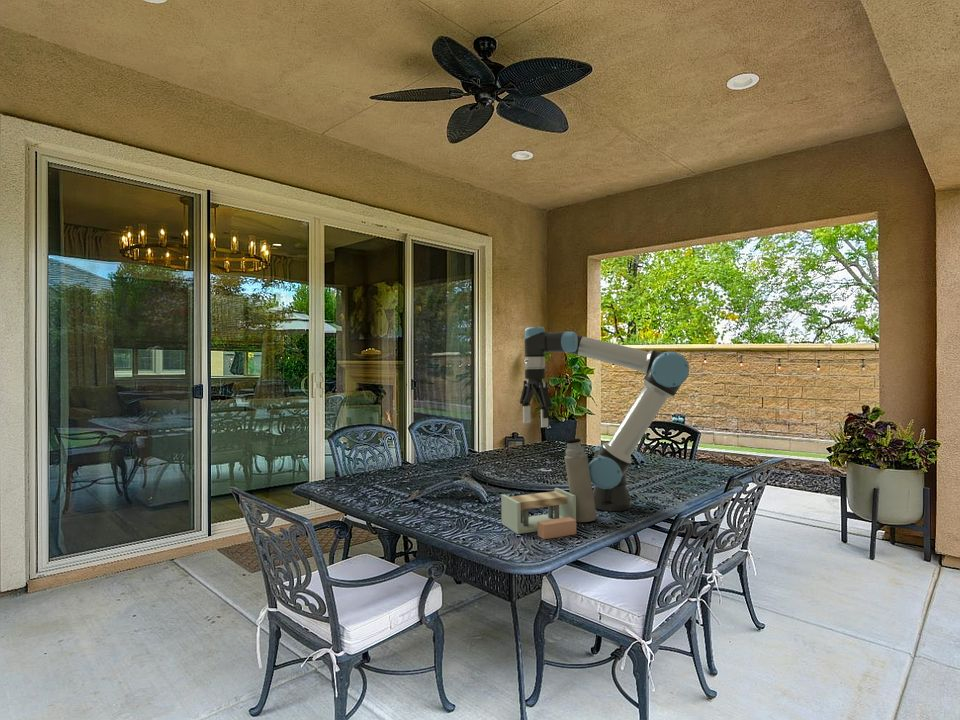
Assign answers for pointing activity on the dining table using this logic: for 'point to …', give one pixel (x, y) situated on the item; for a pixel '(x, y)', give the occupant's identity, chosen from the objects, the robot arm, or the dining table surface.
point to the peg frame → (524, 524)
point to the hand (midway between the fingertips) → (535, 425)
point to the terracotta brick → (556, 527)
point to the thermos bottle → (580, 480)
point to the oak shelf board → (540, 500)
